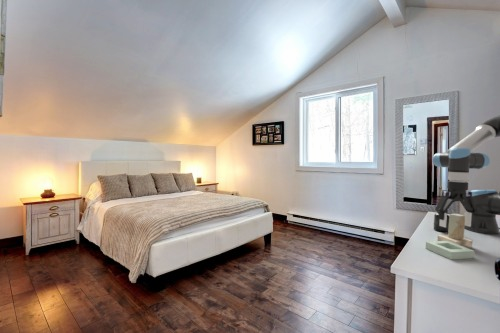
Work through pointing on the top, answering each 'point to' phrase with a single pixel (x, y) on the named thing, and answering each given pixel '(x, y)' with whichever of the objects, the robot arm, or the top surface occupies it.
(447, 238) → the stand
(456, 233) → the box
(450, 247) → the socket
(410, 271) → the top surface
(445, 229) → the supplement bottle
